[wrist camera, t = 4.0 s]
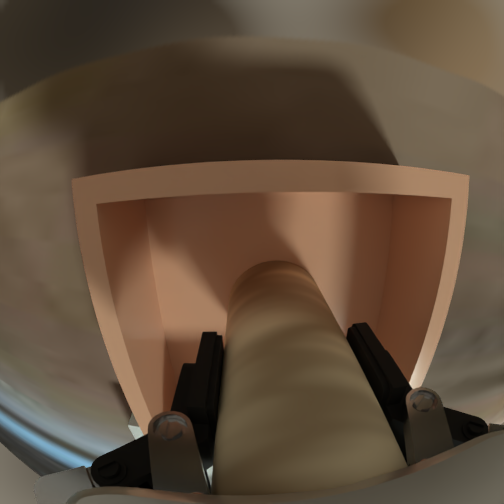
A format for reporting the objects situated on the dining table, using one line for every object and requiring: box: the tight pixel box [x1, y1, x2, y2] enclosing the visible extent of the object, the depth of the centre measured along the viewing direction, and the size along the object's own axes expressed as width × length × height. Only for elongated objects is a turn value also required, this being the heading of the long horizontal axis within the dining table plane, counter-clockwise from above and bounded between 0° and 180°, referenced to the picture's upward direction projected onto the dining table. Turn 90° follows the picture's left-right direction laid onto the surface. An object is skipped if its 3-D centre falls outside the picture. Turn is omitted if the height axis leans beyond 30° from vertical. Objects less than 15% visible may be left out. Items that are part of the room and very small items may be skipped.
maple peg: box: [211, 260, 408, 495], centre depth 10 cm, size 5×5×12 cm
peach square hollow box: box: [72, 160, 469, 435], centre depth 13 cm, size 15×15×6 cm
